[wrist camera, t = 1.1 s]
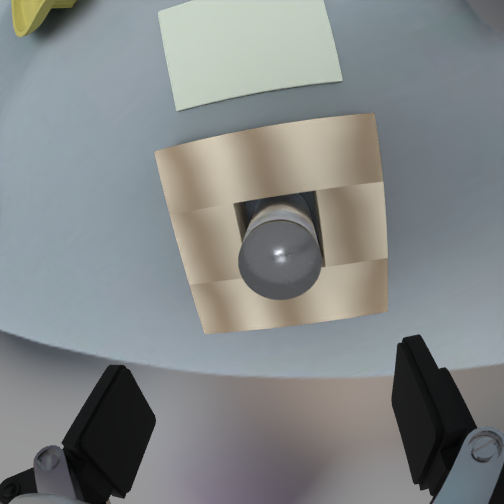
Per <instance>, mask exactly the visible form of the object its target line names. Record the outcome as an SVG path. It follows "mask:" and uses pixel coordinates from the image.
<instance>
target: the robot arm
mask: <svg viewBox="0 0 504 504" xmlns="http://www.w3.org/2000/svg"><path fill="white" fill-rule="evenodd" d="M392 407H393V410H394V413H395V417H396V420H397V424H398V427H399V431H400V434H401V438H402V441H403V445H404V449H405V452H406V456H407V460H408V464H409V468H410V472H411V476H412V480H413V483H414V484H419V486H420V490H425V489H428V488H429V491H430V495H432V496H433V498H432V500H431V502H430V504H504V433H502V432H501V431H500V430H499V429H496V428H494V427H488V426H485V427H479V428H477V426H476V425H475V422H474V420H473V418H472V416H471V414H470V412H469V410H468V408H467V406H466V403H465V402H464V399H463V398H462V396H461V394H460V392H459V390H458V388H457V386H456V384H455V382H454V380H453V378H452V376H451V374H450V372H449V371H448V370H447V369H446V368H445V367H444V368H440V369H439V368H438V366H437V365H436V363H435V361H434V359H433V357H432V355H431V353H430V351H429V349H428V348H427V346H426V344H425V342H424V340H423V338H422V337H421V335H419V334H418V335H414V336H409V337H404V338H403V340H402V343H398V345H397V354H396V364H395V374H394V382H393V391H392ZM155 423H156V418H155V415H154V413H153V412H152V410H151V408H150V406H149V404H148V403H147V401H146V399H145V397H144V396H143V394H142V392H141V390H140V388H139V387H138V385H137V383H136V381H135V379H134V377H133V375H132V373H131V371H130V370H129V369H127V368H126V367H125V366H124V365H109V366H108V367H107V369H106V370H105V372H104V373H103V375H102V376H101V378H100V379H99V381H98V383H97V384H96V386H95V387H94V389H93V391H92V393H91V394H90V396H89V397H88V399H87V400H86V402H85V404H84V406H83V407H82V409H81V410H80V412H79V414H78V416H77V417H76V419H75V421H74V422H73V424H72V425H71V427H70V429H69V431H68V432H67V434H66V436H65V438H64V439H63V441H62V444H63V445H64V448H63V449H61V448H60V447H58V446H56V445H51V446H46V447H44V448H42V449H41V450H40V451H39V452H38V453H37V454H36V456H35V458H34V467H33V468H31V469H28V470H26V471H24V472H21V473H19V474H17V475H14V476H12V477H9V478H7V479H5V480H4V481H3V482H2V483H1V484H0V504H111V502H110V500H109V497H110V495H112V496H115V497H119V498H123V499H124V498H125V496H126V493H128V492H129V491H130V490H131V488H132V485H133V482H134V480H135V477H136V474H137V471H138V469H139V466H140V463H141V461H142V458H143V455H144V453H145V450H146V448H147V445H148V442H149V440H150V437H151V434H152V432H153V429H154V427H155Z"/></svg>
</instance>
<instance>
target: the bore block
mask: <svg viewBox="0 0 504 504" xmlns="http://www.w3.org/2000/svg"><path fill="white" fill-rule="evenodd" d="M154 152H155V157H156V161H157V165H158V170H159V174H160V178H161V182H162V186H163V190H164V194H165V198H166V202H167V206H168V210H169V214H170V218H171V221H172V225H173V229H174V233H175V236H176V240H177V243H178V247H179V251H180V254H181V258H182V261H183V265H184V268H185V271H186V275H187V278H188V282H189V285H190V288H191V292H192V295H193V298H194V301H195V305H196V308H197V311H198V314H199V317H200V320H201V324H202V327H203V330H204V333H205V334H213V333H225V332H237V331H248V330H258V329H267V328H277V327H285V326H294V325H302V324H310V323H317V322H325V321H332V320H339V319H346V318H352V317H359V316H365V315H371V314H377V313H383V312H388V247H387V225H386V209H385V196H384V184H383V174H382V165H381V156H380V148H379V141H378V133H377V127H376V120H375V114H374V113H365V114H354V115H344V116H335V117H327V118H319V119H311V120H304V121H297V122H290V123H284V124H277V125H271V126H266V127H260V128H254V129H249V130H244V131H239V132H234V133H229V134H224V135H219V136H215V137H210V138H206V139H201V140H197V141H193V142H189V143H185V144H181V145H177V146H173V147H169V148H165V149H161V150H158V151H154ZM307 191H313V197H314V204H315V211H316V219H317V226H318V234H319V242H320V244H319V248H320V252H321V257H322V266H321V271H320V274H319V277H318V279H317V281H316V282H315V284H314V285H313V286H312V287H311V288H310V289H309V290H308V291H306V292H305V293H304V294H302V295H300V296H298V297H295V298H292V299H287V300H273V299H269V298H265V297H263V296H260V295H259V294H257V293H255V292H254V291H253V290H251V289H250V288H249V287H248V286H247V284H246V283H245V282H244V280H243V279H242V277H241V274H240V271H239V267H238V256H239V252H240V248H241V246H242V243H243V240H244V237H245V234H246V232H247V229H248V226H249V222H248V217H247V212H246V207H245V202H244V201H249V200H255V199H262V198H268V197H274V196H281V195H287V194H294V193H300V192H307Z"/></svg>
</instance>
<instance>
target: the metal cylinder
mask: <svg viewBox="0 0 504 504" xmlns="http://www.w3.org/2000/svg"><path fill="white" fill-rule="evenodd" d="M321 266H322V257H321V252H320V248H319V244H318V240H317V237H316V233H315V229H314V225H313V221H312V218H311V214H310V210H309V207H308V205H307V203H306V202H305V200H304V199H303V198H302V197H301V196H300V195H298V194H297V193H294V194H287V195H281V196H274V197H268V198H262V199H260V200H259V201H258V203H257V204H256V207H255V209H254V212H253V215H252V218H251V220H250V223H249V226H248V229H247V232H246V234H245V237H244V240H243V243H242V246H241V248H240V252H239V256H238V267H239V271H240V274H241V277H242V279H243V280H244V282H245V283H246V284H247V286H248V287H249V288H250V289H251V290H253V291H254V292H255V293H257V294H259V295H260V296H263V297H265V298H269V299H273V300H287V299H292V298H295V297H298V296H300V295H302V294H304V293H305V292H306V291H308V290H309V289H310V288H311V287H312V286H313V285H314V284H315V282H316V281H317V279H318V277H319V274H320V271H321Z"/></svg>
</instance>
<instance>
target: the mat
mask: <svg viewBox="0 0 504 504" xmlns="http://www.w3.org/2000/svg"><path fill="white" fill-rule="evenodd" d="M158 16H159V22H160V28H161V33H162V39H163V45H164V50H165V55H166V61H167V66H168V71H169V76H170V82H171V87H172V92H173V97H174V102H175V107H176V111H183V110H186V109H190V108H194V107H198V106H202V105H206V104H210V103H214V102H219V101H223V100H228V99H232V98H237V97H242V96H247V95H252V94H258V93H263V92H269V91H275V90H281V89H287V88H294V87H301V86H309V85H317V84H326V83H335V82H342V81H343V79H342V74H341V70H340V65H339V60H338V56H337V52H336V47H335V43H334V39H333V35H332V31H331V27H330V23H329V20H328V16H327V12H326V9H325V5H324V1H323V0H194V1H190V2H187V3H183V4H180V5H177V6H174V7H171V8H168V9H165V10H162V11H159V12H158Z"/></svg>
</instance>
